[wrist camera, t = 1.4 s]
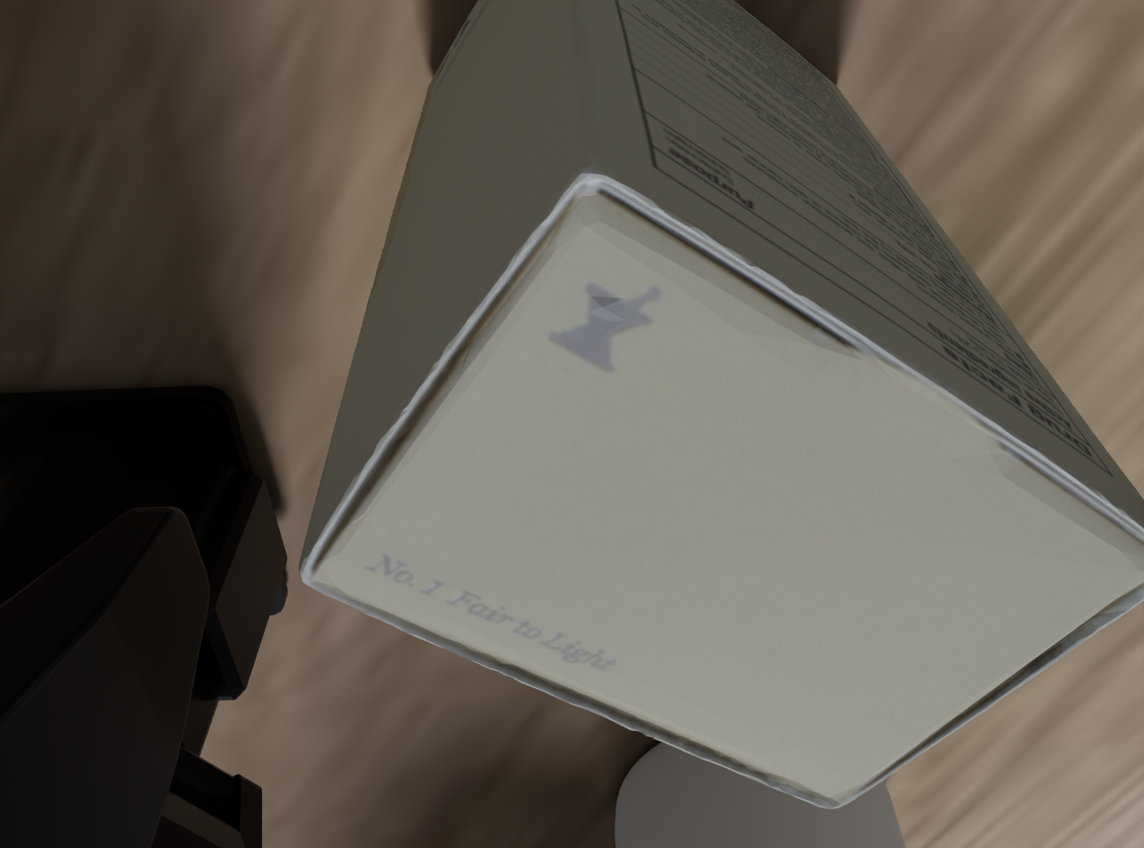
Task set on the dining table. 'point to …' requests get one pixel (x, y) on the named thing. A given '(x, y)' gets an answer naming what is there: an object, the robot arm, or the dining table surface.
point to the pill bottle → (738, 810)
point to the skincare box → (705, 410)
